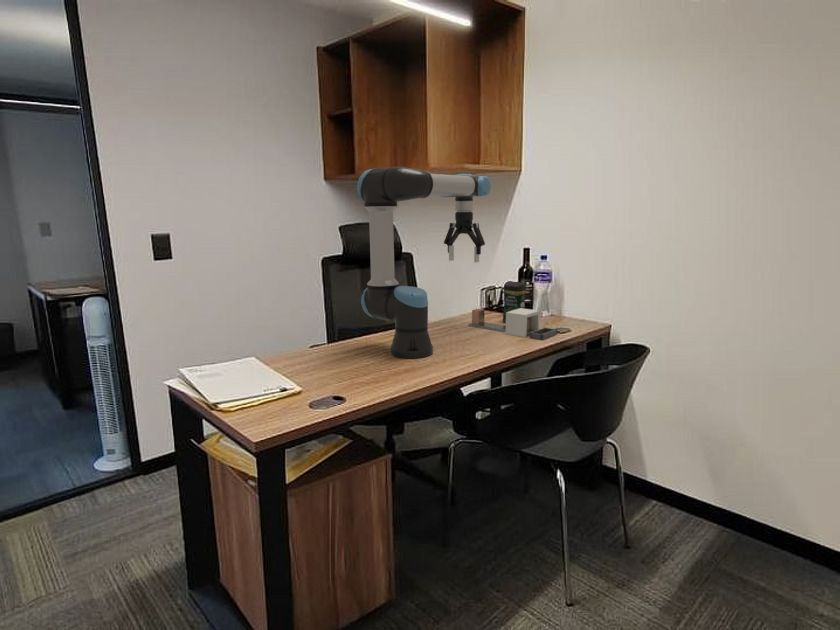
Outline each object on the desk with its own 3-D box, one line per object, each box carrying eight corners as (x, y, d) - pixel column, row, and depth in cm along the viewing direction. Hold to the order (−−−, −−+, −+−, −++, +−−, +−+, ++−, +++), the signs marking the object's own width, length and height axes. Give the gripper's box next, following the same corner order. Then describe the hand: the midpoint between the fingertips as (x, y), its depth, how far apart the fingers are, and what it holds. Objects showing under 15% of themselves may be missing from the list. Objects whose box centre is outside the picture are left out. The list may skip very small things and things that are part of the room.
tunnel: (525, 337, 205) (525, 315, 203) (505, 334, 210) (505, 312, 209) (539, 332, 213) (539, 310, 211) (519, 329, 219) (520, 308, 217)
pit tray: (542, 341, 199) (542, 335, 199) (529, 338, 203) (529, 332, 202) (556, 335, 208) (557, 329, 208) (544, 333, 212) (544, 327, 211)
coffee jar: (499, 323, 231) (500, 282, 228) (509, 320, 237) (510, 280, 234) (518, 326, 225) (519, 283, 221) (527, 323, 231) (529, 281, 227)
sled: (525, 335, 207) (526, 318, 205) (468, 326, 225) (468, 310, 224) (534, 332, 212) (534, 315, 211) (477, 323, 230) (478, 307, 229)
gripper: (493, 211, 215) (492, 262, 219) (446, 211, 231) (446, 259, 235) (483, 211, 209) (482, 263, 214) (435, 211, 225) (436, 260, 230)
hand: (463, 261), depth 224 cm, fingers open, 13 cm apart
